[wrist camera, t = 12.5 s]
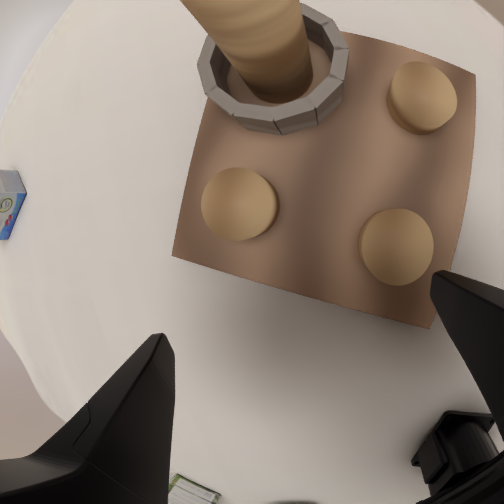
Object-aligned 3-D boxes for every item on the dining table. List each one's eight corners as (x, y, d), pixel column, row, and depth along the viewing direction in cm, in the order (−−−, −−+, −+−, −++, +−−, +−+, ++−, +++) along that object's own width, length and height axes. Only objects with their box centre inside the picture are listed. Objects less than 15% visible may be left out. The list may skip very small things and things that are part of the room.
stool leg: (327, 70, 16) (303, -95, 3) (283, 116, 17) (197, -28, 5) (275, 38, 16) (205, -105, 4) (233, 81, 18) (116, -42, 5)
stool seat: (468, 82, 14) (492, 57, 10) (423, 321, 18) (443, 347, 13) (238, 31, 18) (218, -1, 14) (181, 253, 22) (147, 262, 17)
